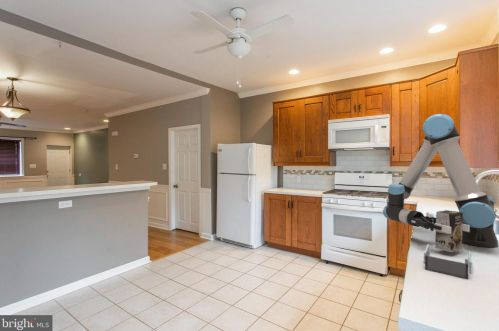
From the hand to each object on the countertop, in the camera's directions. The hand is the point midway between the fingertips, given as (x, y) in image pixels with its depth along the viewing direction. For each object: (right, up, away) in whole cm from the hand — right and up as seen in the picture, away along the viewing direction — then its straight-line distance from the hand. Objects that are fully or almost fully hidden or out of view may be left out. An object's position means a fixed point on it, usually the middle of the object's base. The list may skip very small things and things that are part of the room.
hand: (459, 229), depth 106 cm
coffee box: (-1, -10, +4) cm, 11 cm away
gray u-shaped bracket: (-12, -12, -8) cm, 19 cm away
